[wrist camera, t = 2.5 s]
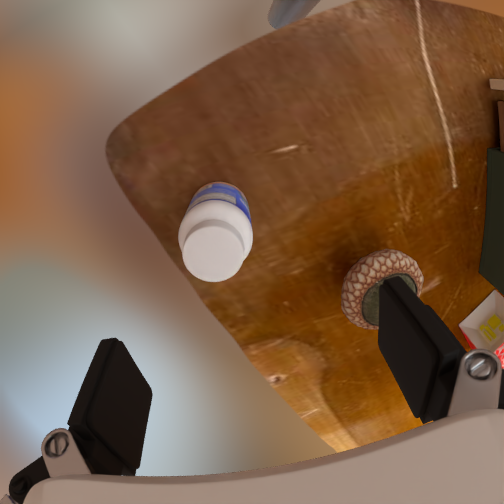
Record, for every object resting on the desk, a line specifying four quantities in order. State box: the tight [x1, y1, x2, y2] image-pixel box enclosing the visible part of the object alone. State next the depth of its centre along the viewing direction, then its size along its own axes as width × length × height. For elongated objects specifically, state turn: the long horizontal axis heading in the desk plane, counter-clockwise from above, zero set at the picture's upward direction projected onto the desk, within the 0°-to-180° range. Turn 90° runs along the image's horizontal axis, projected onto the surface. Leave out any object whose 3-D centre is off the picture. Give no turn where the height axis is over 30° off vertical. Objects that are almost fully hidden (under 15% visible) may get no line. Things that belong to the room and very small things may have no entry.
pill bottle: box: [178, 182, 253, 282], centre depth 25 cm, size 5×5×10 cm
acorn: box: [341, 249, 424, 329], centre depth 28 cm, size 8×8×10 cm
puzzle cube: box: [458, 290, 504, 369], centre depth 35 cm, size 8×8×8 cm
